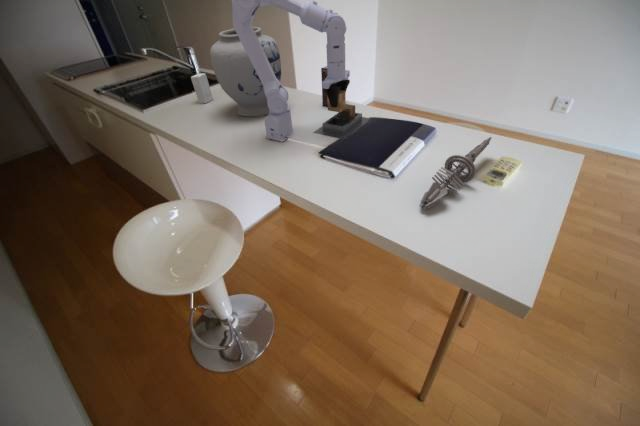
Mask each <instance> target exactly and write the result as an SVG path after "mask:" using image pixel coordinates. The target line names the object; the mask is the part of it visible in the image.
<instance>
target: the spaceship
mask: <svg viewBox="0 0 640 426" xmlns="http://www.w3.org/2000/svg"><path fill="white" fill-rule="evenodd" d="M492 138H493V137H491V136H490V137H488V138H487V139H484V140H483V141H481V143H480V144H478V145H477V146H475V147H474V148H473V149H471V150H470V151H469V152H467V154H465V155H462V154H453V155H451V156H449V157H448V158H447V159H446V160H445V163H444V167H443V166H441V167H440V169H438V171H436V172H435V173H436V174H434V175H433V176H432V177H431V179H432V180H433V181H434V182H432V184H431V186H430V188H429V189H428V191H426V192H424V194H423V197H421V198H422V199H421V200H420V204H419V207H422V208H423V210H427V209H430V208H432V207H434V206H436V205H438V204H439V203H440V201H441V200H440V199H441V198H443V197H444V196H446V195H448V193H449V194H451V195H453V196H455V195H456V194H455V193H458V191H460V189H461V188H463V186H464V185H465V183H468V182H470V181H472V180H473V179H474V178H475V176H476V172H477V171H476V166H475V164H474V163H475V162H476V159H477V158H478V157H479V156H480V155H481V154H482V153H483V151H484V150H485V149H486V148H487V147H488V145H490V142H491V141H492ZM456 162H457V165H456V164H455V163H456ZM454 167H455V168H454ZM465 170H466V171H467V172H466V171H465ZM462 185H463V186H462Z"/></svg>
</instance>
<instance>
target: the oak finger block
mask: <svg viewBox="0 0 640 426" xmlns="http://www.w3.org/2000/svg"><path fill="white" fill-rule="evenodd" d="M346 101H347V100H346V93H345V91H342V90H340V91H339V94H338V104H337V107H336V108H335V107H331V105H330V102H329V99H328V96H327V102H328V107H327V111H330V112H336V113H338V112H342V111H343V110H345V109H346V104H347V103H346Z"/></svg>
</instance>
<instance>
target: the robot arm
mask: <svg viewBox="0 0 640 426" xmlns="http://www.w3.org/2000/svg"><path fill="white" fill-rule="evenodd" d="M231 3H232V4H231V5H232V26H233V29H235V31H236V33H237V35H238V37H239V39H240V41H241V43H242V45H243V47H244V49H245V51H246V53H247V55H248V57H249V59H250V61H251V63H252V65H253V67H254V69H255V71H256V73H257V74H258V76H259V78H260V80H261V82H262V84H263V87H264V92H265V95H266V97H267V104H268V107H269V114H267V116H265V118H264V126H265V133H266V135H265V138H266V139H269V140H273V141H277V142H281V143H283V142H285V141H286V140H288V139H289V137H288V136H289V135H291V134H293V132H294V130H293V129H294V128H293V120H292V115H291V114H292V113H291V107H290V106H289V103H288V101H289V92H288V90H287V89H286V88H285V87H284V86H283V85H282V83H281V80H280V81H279V80H278V79H277V78H276V76H275V74H274V72H273V70H272V68H271V65H270V63H269V61H268V59H267V57H266V55H265V53H264V50H263V48H262V46H261V44H260V42H259V40H258V38H257V36H256V33H255V31H254V29H253V27H254V26H253V21H254V18H255V15H256V12H257V10H258V9H259V7H261V8H262V7H266V6H267V7H268V6H274V7H276V8H279V9H280V10H283V11H285V12H288V13H291V14H293V15H294V16H297V17H299V19H300V23H301V24H302V25H304V26H306V27H309V28H311V29H313V30H315V31H317V32H319V33H326V47H325V48H326V66H327V73H328V76H327V77H326V79H325V80H324V81H323V82H322V81H321V89H322V88H323V89H324V90H325V92H326V94H327V96H328V99H329V102H330V105H331V107H335V108H336V107H337V104H338V94H339V91H340V90H342V91H345V94H346V93H347V89H348V87H349V84H350V82H351V81H350V79H349V77H350V76H351V73H350V70H349V69H346V41H345V40H346V38H345V37H346V36H345V34H346V33H347V25H346V24H347V23H346V22H345V20H344V18H343V17H342V15H340V14H339V13H337V12H334V10H333V9H332V8H329V9H326V8H324V7H323V6H320V5H318V1H316V0H313V1H311V0H308V1H306V2H304V3H301V2H299V1H298V0H231Z"/></svg>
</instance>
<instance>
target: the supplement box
mask: <svg viewBox="0 0 640 426" xmlns="http://www.w3.org/2000/svg"><path fill="white" fill-rule="evenodd" d="M320 70H321V71H320V72H321V73H320V74H321V83H322V82H323V81H324V80H325V79H326V77H327V76H328V73H327V65H326V66H323V67H321V68H320ZM321 94H322V95H321V97H322V99H321V100H322V107H325V108H328V102H327V94H326V92H325V90H324V89H323V88H322V87H321Z"/></svg>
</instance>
